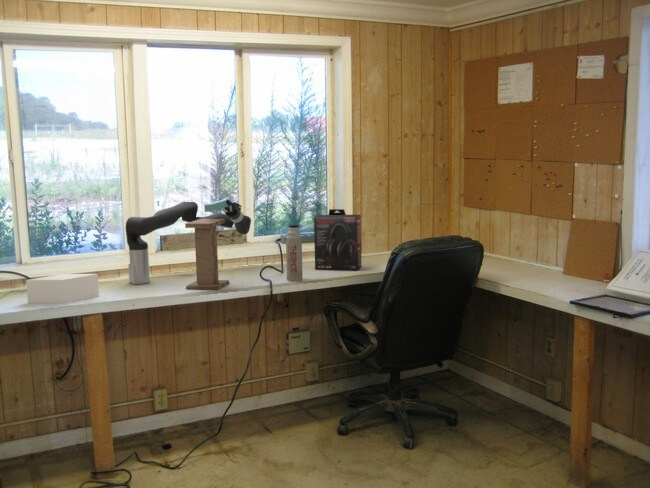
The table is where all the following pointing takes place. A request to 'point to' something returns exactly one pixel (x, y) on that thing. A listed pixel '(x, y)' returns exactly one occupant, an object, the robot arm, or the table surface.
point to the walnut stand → (206, 255)
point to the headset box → (337, 241)
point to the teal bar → (216, 205)
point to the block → (62, 288)
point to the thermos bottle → (294, 254)
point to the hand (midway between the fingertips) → (223, 200)
